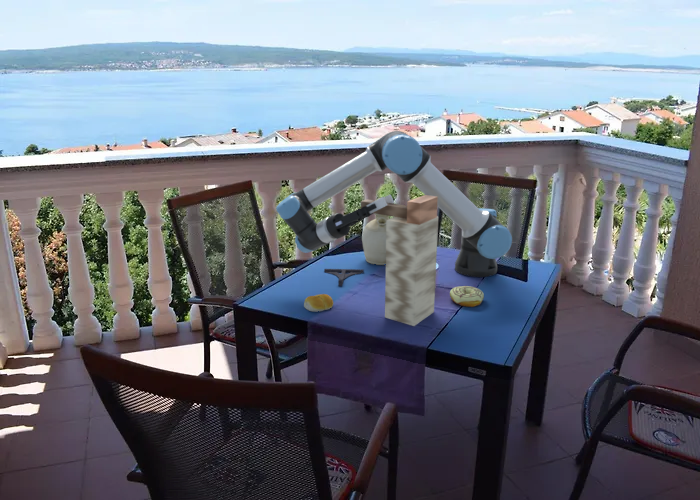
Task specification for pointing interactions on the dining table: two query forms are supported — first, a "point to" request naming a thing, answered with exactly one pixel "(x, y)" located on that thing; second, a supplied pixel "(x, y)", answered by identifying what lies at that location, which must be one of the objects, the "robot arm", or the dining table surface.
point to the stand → (410, 270)
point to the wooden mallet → (410, 209)
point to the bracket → (343, 273)
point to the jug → (375, 240)
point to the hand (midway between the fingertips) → (388, 200)
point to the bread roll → (318, 302)
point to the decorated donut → (467, 296)
